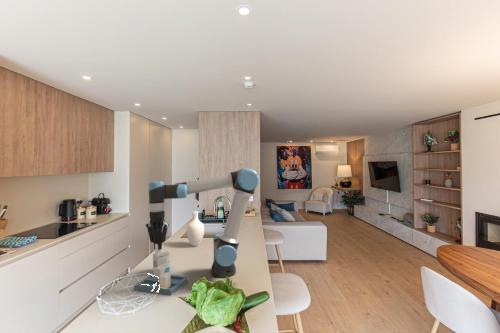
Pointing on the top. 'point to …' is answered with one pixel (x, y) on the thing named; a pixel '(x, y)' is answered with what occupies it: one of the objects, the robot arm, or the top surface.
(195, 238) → the vase
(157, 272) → the tab
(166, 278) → the tab
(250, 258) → the top surface
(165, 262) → the ink box
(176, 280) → the switch board
